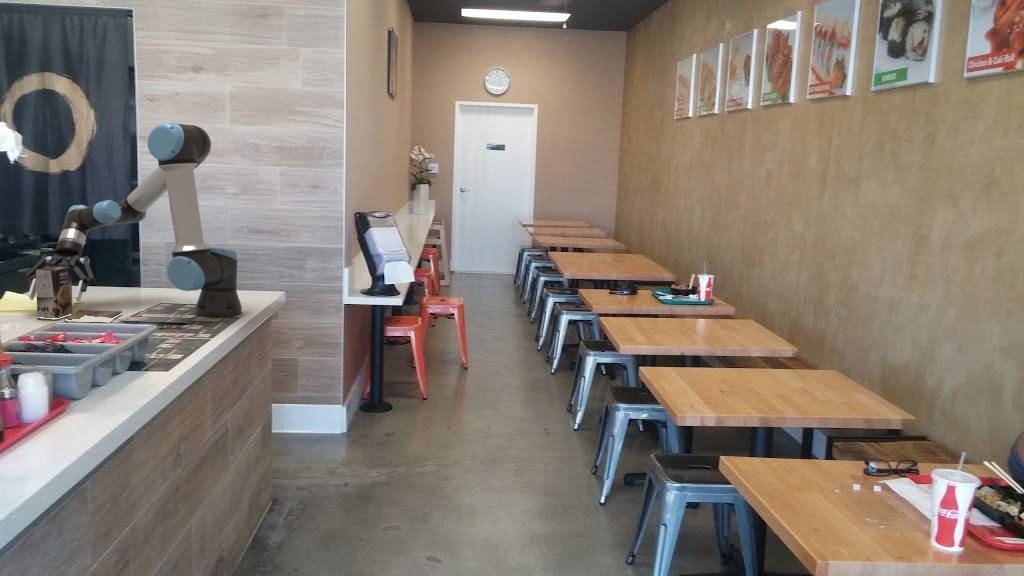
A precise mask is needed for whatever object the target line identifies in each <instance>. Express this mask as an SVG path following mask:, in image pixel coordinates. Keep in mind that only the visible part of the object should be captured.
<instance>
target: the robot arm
mask: <svg viewBox="0 0 1024 576" xmlns="http://www.w3.org/2000/svg"><path fill="white" fill-rule="evenodd" d="M147 148H148V151H149V153H150V154H151V155H152V156H153V158H155V159H157V164H158V167H157V168H156V169H155V170H154V171H153V172H151V173H150V174H149V175H148V176H147V177H146V178H145V179H144V180H143V181H142V182H141V183H140V184H139V185H138V186H137V187H135V189H134V190H133V191H131V193H130V194H129V195H128V196H126V197H125V198H124V199H123V200H122V201H120V202H117V201H116V202H115V201H113V200H111V199H107V200H103V201H99V202H97V203H94V204H92V205H90V206H87V205H84V204H79V205H78V204H75V205H72V206H70V207H69V209H68V211H67V214H66V215H65V219H64V223H63V225H62V229H61V233H60V235H59V239H58V240H57V241H58V242H57V244H56V247H55V250H54V254H53V255H52V256H49V255H47V254H46V253H44V254H43V255H42V256H41V258H40V259H39V260H38V262H36V263H35V264H34V265H33V266H32V267H31V268H30V269H29V270H28V271H27V272H26V273H25V274H24V277H25V279H26V281H28V285H27V289H28V290H29V291H28V293H27V294H28V295H27V296H28V298H29V301H34V299H35V296H36V294H37V293H36V292H37V291H36V270H37V269H42V268H46V267H51V266H63V267H72V268H71V270H73V272H75V273H76V275H77V276H78V277H79V278H80V280H79V283H78V285H77V289H76V293H75V296H74V298H75V301H77V302H78V303H79V302H81V300H82V296H83V293H86V292H87V289H88V286H89V284H95V283H96V279H95V277H94V274H93V272H92V269H91V266H90V263H91V260H90V258H89V256H87V255H85V256H84V257H82V255H83V249H84V247H85V243H86V239H87V236H88V234H89V232H90V231H93V230H96V229H98V228H101V227H105V226H113V225H121V224H122V225H123V224H136V223H139V222H143V220H145V218H146V215H147V210H148V209H149V208H151V206H152V205H153V204H155V203H156V202H157V201H158V200H159V199H160V198H161V197H162V196H163V195H165V193H167V195H168V202H169V209H170V216H171V221H172V223H171V224H172V228H173V235H174V241H175V242H174V243H175V246H174V247H173V249H172V250H171V257H172V259H171V260H170V261H169V263H168V264H167V265H166V266H167V267H166V273H167V278H168V279H169V281H170V283H171V284H172V285H173V286H174V287H176V289H179V290H180V291H184V292H190V291H198V290H200V294H199V296H198V299H197V302H196V305H195V314H196V315H198V316H201V317H209V318H229V316H230V317H235V316H240V315H241V314H242V312H243V309H242V308H243V307H242V303H241V301H240V298H239V295H238V292H237V291H238V290H237V289H238V288H237V287H238V285H237V283H238V282H237V281H238V277H237V276H238V255H237V254H238V253H237V251H236V250H235V249H231V248H220V247H212V246H211V247H210V246H209V245H207V244H206V242H204V233H203V229H202V228H203V227H202V221H201V220H202V219H201V214H200V208H199V207H200V206H199V205H200V204H199V199H198V192H197V187H196V179H195V172H194V169H197V168H198V167H199V166H200V165H201V164H202V163H203V162H204V161H205V160H206V159H207V157H208V156H209V155H210V152H211V149H212V142H211V139H210V136H209V134H208V133H207V131H206V130H204V129H203V128H201V127H200V126H197V125H194V124H184V123H176V122H169V123H168V122H166V123H159V124H157V125H156V126H154V127H153V128H152V131H150V132H149V134H148V137H147ZM80 263H81V264H82V265H84V268H85V271H86V273H87V275H88V277H87V276H86V275H85V274H84V273H83V271H82V270H81V269H80V267H78V265H80Z"/></svg>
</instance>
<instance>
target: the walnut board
mask: <svg viewBox="0 0 1024 576" xmlns="http://www.w3.org/2000/svg"><path fill="white" fill-rule="evenodd" d="M72 313H73V314H72V315H70V316H68V317H65V318H64V320H65V319H68V320H72V319H80V318H81V317H83V316H85V315H87V316H94V317H99V316H100V317H107V318H108V317H109V318H113V317H115V316H117V315H119V314H120V313H122V314H123V311H122V310H96V309H95V310H94V309H93V310H92V309H78V310H77V311H75V312H72Z"/></svg>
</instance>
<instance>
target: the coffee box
mask: <svg viewBox="0 0 1024 576" xmlns="http://www.w3.org/2000/svg"><path fill="white" fill-rule="evenodd" d="M45 267H46V266H45ZM71 268H72V267H63V266H55V265H54V266H51V267H46V268H42V269H37V270H36V293H35V294H36V318H37V317H44V318H60V317H63V316H66V315H69V314H72V313H73V283H72V281H73V279H72V269H71Z"/></svg>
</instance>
